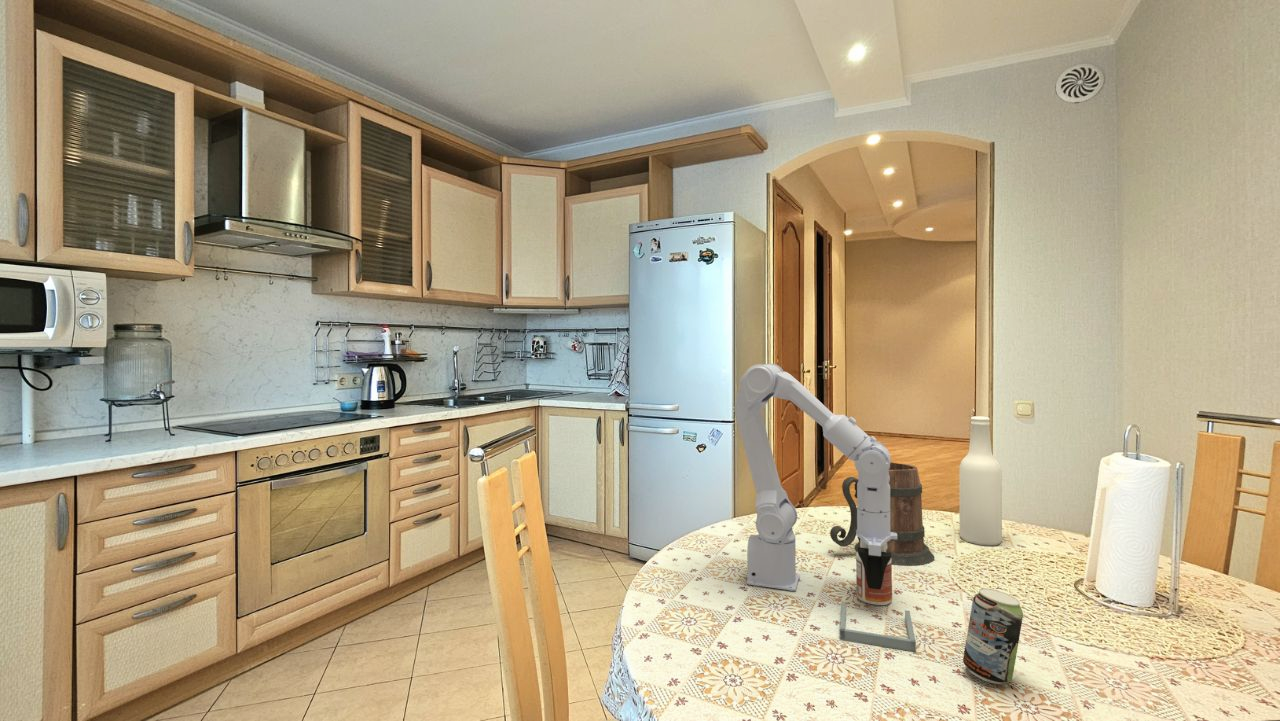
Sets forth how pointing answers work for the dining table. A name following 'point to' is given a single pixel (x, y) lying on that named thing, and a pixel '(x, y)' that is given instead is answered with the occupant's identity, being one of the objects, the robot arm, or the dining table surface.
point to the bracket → (878, 635)
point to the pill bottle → (871, 594)
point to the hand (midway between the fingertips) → (873, 580)
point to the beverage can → (993, 636)
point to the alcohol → (980, 489)
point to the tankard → (895, 517)
